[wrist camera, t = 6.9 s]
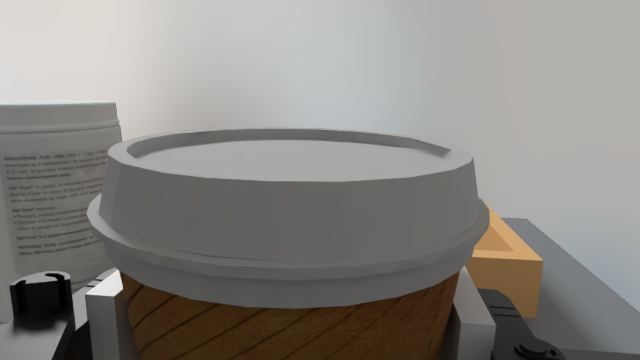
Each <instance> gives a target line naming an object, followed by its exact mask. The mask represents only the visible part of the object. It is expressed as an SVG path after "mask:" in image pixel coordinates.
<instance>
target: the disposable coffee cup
mask: <svg viewBox="0 0 640 360" xmlns="http://www.w3.org/2000/svg"><path fill="white" fill-rule="evenodd" d="M86 214H87V217H88V220H89V223H90V227H91V230H92V233H93V236H95V237H96V238H98V239H99V240H101V241H102V242H104V246H105V251H106V255H107V258H108V259H109V260H110V261H111V263H112V264H113V265H114V266H115V267H116V268H117V269H118V270H119V273H120V277H121V281H122V285H123V291H124V295H125V299H126V303H127V307H128V310H129V312H128V315H129V319H130V323H131V326H132V330H133V333H134V336H133V339H134V342H135V346H136V349H137V352H138V356H139V357H140V359H139V360H439V356H440V352H441V347H442V343H443V339H444V335H445V331H446V327H447V323H448V320H449V316H450V312H451V308H452V303H453V299H454V296H455V292H456V287H457V283H458V278H459V273H460V271H461V270H462V268H463V267H464V266H465V264H466V263H467V262H468V260H469V259H470V258H471V256H472V255H473V251H474V246H475V245H476V244H477V243H478V242H479V240H480V239H481V238H482V236H483V235H484V234H485V232H486V231H487V230H488V228H489V223H490V210H489V209H488V207H487V206H486V205H485V203H484V202H483V201H482V200H481V199H480V198H478V193H477V185H476V177H475V168H474V160H473V156H471V155H470V154H469V153H468V152H467V151H465V150H464V149H463V148H460V147H457V146H454V145H451V144H448V143H444V142H439V141H435V140H431V139H425V138H419V137H413V136H405V135H397V134H388V133H379V132H369V131H355V130H340V129H322V128H283V127H282V128H281V127H261V128H220V129H203V130H191V131H179V132H169V133H161V134H154V135H148V136H143V137H137V138H134V139H131V140H128V141H124V142H121V143H118V144H115V145H113V146H112V147H111V148H109V150H108V156H107V162H106V169H105V175H104V181H103V188H102V193H100V194H99V195H98V196H97V197H96V198H95V199H94V200H93V201H92V202H91V203H90V205H89V207H88V210H87V213H86Z"/></svg>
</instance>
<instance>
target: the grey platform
mask: <svg viewBox="0 0 640 360" xmlns="http://www.w3.org/2000/svg"><path fill="white" fill-rule="evenodd" d="M478 198H479V197H478ZM485 205H486V204H485ZM486 206H487V205H486ZM487 207H488V206H487ZM488 209H489V210H490V223H489V228H488V230H487V231H486V232H485V234H484V235H483V236H482V238H481V239H480V240H479V242H478V243H477V244H476V245H475V246H474V251H473V255H472V256H471V258H470V259H469V260H468V262H467V263H466V264H465V268H466V269H467V271H468V273H469V275H470V277H471V279H472V281H473V283H474V285H475V286H476V288H479V289H493V290H498V291H500V292H501V293H503V294H504V295H505V296H507V297H508V298H510V300H511V301H512V303H513V304H514V306H515V307H516V310H518V312H519V313H520V315H521V318H523V319H524V321H525V322H526V324H527V325H528V327H529V328H530V330H531V332H532V333H533V335H534V336H535V338H538V339H541V340H543V341H546V342H548V343H550V344H552V345H553V346H555V347H557V348H558V349H559V350H560V351H561V352H562V353H563V354H564V357H565V360H640V312H639V311H637V310H636V309H635V308H634V307H633V306H631V305H630V304H629V303H628V302H626V301H625V300H624V299H623V298H622V297H620V296H619V295H618V294H617V293H616V292H614V291H613V290H612V289H611V288H609V287H608V286H607V285H606V284H605V283H603V282H602V281H601V280H600V279H599V278H597V277H596V276H595V275H594V274H593V273H591V272H590V271H589V270H588V269H587V268H585V267H584V266H583V265H582V264H580V263H579V262H578V261H577V260H576V259H574V258H573V257H572V256H571V255H570V254H568V253H567V252H566V251H565V250H564V249H562V248H561V247H560V246H559V245H558V244H556V243H555V242H554V241H553V240H551V239H550V238H549V237H548V236H547V235H545V234H544V233H543V232H542V231H541V230H539V229H538V228H537V227H536V226H535V225H533V224H532V223H531V222H530V221H528V220H527V219H519V218H500V217H499V216H497V214H495V212H494V211H493V210H492V209H490V208H489V207H488Z"/></svg>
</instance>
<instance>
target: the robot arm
mask: <svg viewBox="0 0 640 360" xmlns="http://www.w3.org/2000/svg"><path fill="white" fill-rule="evenodd" d="M9 288H10V295H11V302H12V309H13V318H12V319H11V321H10V322H9V324H0V360H139V359H140V357H139V356H138V352H137V349H136V346H135V342H134V339H133V336H134V333H133V330H132V326H131V323H130V319H129V315H128V312H129V310H128V307H127V303H126V299H125V295H124V291H123V285H122V281H121V277H120V273H119V270H118V269H117V268H116V267H115V268H113V269H110V270H108V271H105V272H104V273H102V274H101V275H100V276H98V277H97V278H95V280H94V281H91V282H90V283H88V284H87V285H86V287H83V288H81V289H80V290H79V291H77V292H76V293H74V294H73V295H72V288H71V279H70V275H69V274H68V273H66V272H60V271H46V272H40V273H35V274H31V275H28V276H24V277H22V278H20V279H18V280H16V281H14V282H13V283H12V284H10V285H9ZM439 360H565V357H564V354H563V353H562V352H561V351H560V350H559V349H558V348H557V347H555V346H553V345H552V344H550V343H548V342H546V341H543V340H541V339H538V338H535V336H534V335H533V333H532V332H531V330H530V328H529V327H528V325H527V324H526V322H525V321H524V319H523V318H521V315H520V313H519V312H518V310H516V307H515V306H514V304H513V303H512V301H511V300H510V298H508V297H507V296H505V295H504V294H503V293H501V292H500V291H498V290H493V289H479V288H476V286H475V285H474V283H473V281H472V279H471V277H470V275H469V273H468V271H467V269H466V268H465V266H464V267H463V268H462V270H461V271H460V273H459V278H458V283H457V287H456V292H455V296H454V299H453V303H452V308H451V312H450V316H449V320H448V323H447V327H446V331H445V335H444V339H443V343H442V347H441V352H440V356H439Z"/></svg>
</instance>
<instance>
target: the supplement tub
mask: <svg viewBox="0 0 640 360" xmlns="http://www.w3.org/2000/svg"><path fill="white" fill-rule="evenodd" d="M121 142H122V135H121V128H120V125H119V120H118V118H117V109H116V104H115V102H114V101H109V100H18V101H0V323H2V324H9V322H10V321H11V319H12V318H13V309H12V302H11V295H10V288H9V285H10V284H12V283H13V282H14V281H16V280H18V279H20V278H22V277H24V276H28V275H31V274H35V273H40V272H46V271H60V272H66V273H68V274H69V275H70V279H71V288H72V295H73V294H74V293H76V292H77V291H79V290H80V289H81V288H83V287H86V285H87V284H88V283H90V282H91V281H94V280H95V278H97V277H98V276H100V275H101V274H102V273H104V272H105V271H108V270H110V269H113V268H115V266H114V265H113V264H112V263H111V261H110V260H109V259H108V258H107V255H106V251H105V246H104V242H102V241H101V240H99V239H98V238H96V237H95V236H93V233H92V230H91V227H90V223H89V220H88V217H87V214H86V213H87V210H88V207H89V205H90V203H91V202H92V201H93V200H94V199H95V198H96V197H97V196H98V195H99V194H100V193H102V188H103V181H104V175H105V169H106V162H107V156H108V150H109V148H111V147H112V146H113V145H115V144H118V143H121Z"/></svg>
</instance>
